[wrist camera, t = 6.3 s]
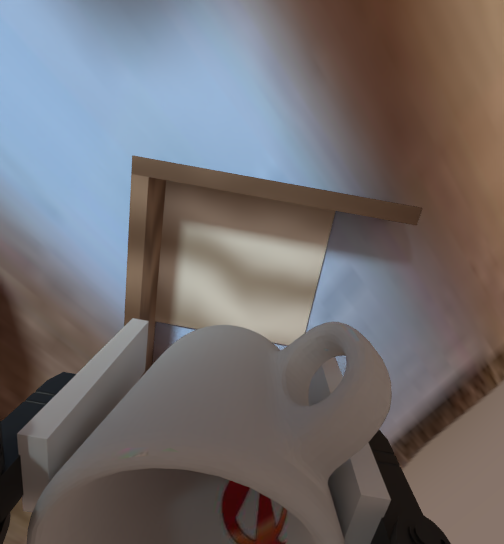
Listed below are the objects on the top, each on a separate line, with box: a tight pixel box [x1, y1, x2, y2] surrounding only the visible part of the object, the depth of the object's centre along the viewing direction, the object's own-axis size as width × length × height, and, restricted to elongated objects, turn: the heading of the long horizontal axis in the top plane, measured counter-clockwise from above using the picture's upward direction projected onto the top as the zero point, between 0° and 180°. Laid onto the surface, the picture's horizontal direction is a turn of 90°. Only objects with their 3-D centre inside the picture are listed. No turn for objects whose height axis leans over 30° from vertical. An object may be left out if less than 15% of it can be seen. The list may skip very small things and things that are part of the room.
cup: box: [27, 322, 391, 544], centre depth 10 cm, size 11×8×8 cm
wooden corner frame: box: [124, 156, 422, 380], centre depth 25 cm, size 23×20×4 cm
